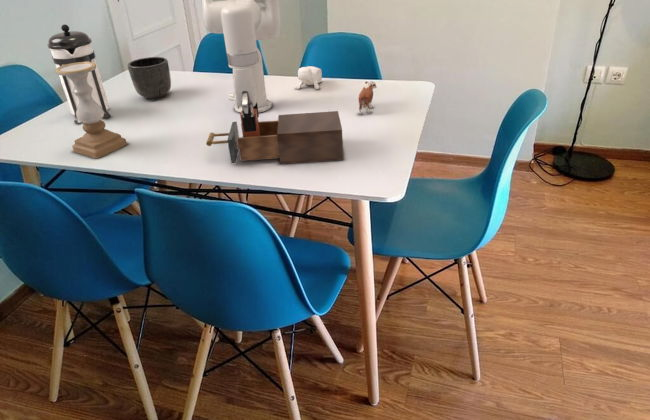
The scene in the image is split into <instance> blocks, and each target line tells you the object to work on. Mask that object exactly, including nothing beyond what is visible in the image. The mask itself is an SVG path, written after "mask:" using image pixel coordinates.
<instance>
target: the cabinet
mask: <svg viewBox="0 0 650 420" xmlns="http://www.w3.org/2000/svg"><path fill="white" fill-rule="evenodd" d="M277 121H278V130H277V137H278V146H279V155H280V158H279V164H280V165H290V164H305V163H316V162H318V163H319V162H320V163H321V162H334V161H344V149H343V148H344V147H343V146H344V145H343V142H344V141H343V127H342V123H341V118H340V114H339V111H338V110H332V111H331V110H330V111H319V112H304V113H287V114H286V113H285V114H278V117H277Z"/></svg>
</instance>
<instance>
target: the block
mask: <svg viewBox="0 0 650 420" xmlns="http://www.w3.org/2000/svg"><path fill="white" fill-rule="evenodd" d="M250 110H251V109H250ZM253 115H254V116H255V122H256V131H253V132H244V128H243V121H242V111H241V113H240V122H241V123H242V127H241V131H242V130H243V133H242V137H253V136H260V130H259V123H258V122H259V117H258V115H257V109H253ZM241 123H240V124H241Z"/></svg>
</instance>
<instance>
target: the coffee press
mask: <svg viewBox="0 0 650 420" xmlns="http://www.w3.org/2000/svg"><path fill="white" fill-rule="evenodd" d="M60 29H61V31H63V32H58V33H55V34H53V35H52V36H50V37H49V39H48V43H47V48H48V50H50V53H51V58H52V61H53V64H54V65H55V67H56V68H58V67H60V66H63V65H66V64H71V63H77V62H93V63H95V64H96V68H95V69H94V70H93V71H90V72H88V77H87V82H88V84H89V85H90V86H91V87H92V88H93V90H92V93H91V97H92V99H93V100H94V101H95V102H96V103H97V104H98V105H100V106H101V107H102V109H103V111H104V116H103V118H105V119H109V118H111V117H112V116H111V113H110V112H109V111H108V110H110V109H109V108H110V104H109V100H108V97H107V94H106V89H105V86H104V83H103V80H102V76H101V73H100V69H99V66H98V63H97V59H96V57H97V56H96V53H95V50H94V49H93V45H92V38H91V37H89V35H88V34H87V33H85V32H83V31H78V30H77V31H76V30H74V31H73V30H72V31H71V30H70V26H69V25H68V24H65V23H64V24H62V25H61V27H60ZM56 68H55V69H56ZM58 77H59V80H60V82H61V86H62V89H63V93H64V95H65V98H66V101H67V104H68V106H69V110H70V113H71V114H72V115H73V116H74V119H73V122H74V124H78V125H79V124H81V123H82V122H81V121H79V120H78V119H77V117H76V111H77V107H78V104H79V98H78V97H77V96H76V94H74V93H73V89H74V83H73V82H72V80H70V79H69V78H68V77H67V76H62V75H58Z"/></svg>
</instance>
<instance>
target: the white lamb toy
mask: <svg viewBox="0 0 650 420" xmlns="http://www.w3.org/2000/svg"><path fill="white" fill-rule="evenodd" d="M322 72H323V71H322V68H319V67H317V66H313V65H312V66H311V65H310V66H309V65H307V66H302V67H299V68H298V71H297V78H298V81H297V83H296V85H295V89H296V90H299V89H301V87H302V86H303V85H306V86H312V85H313V86H314V89H315V90H319V89H320V85H319V83H322V80H323V73H322Z"/></svg>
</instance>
